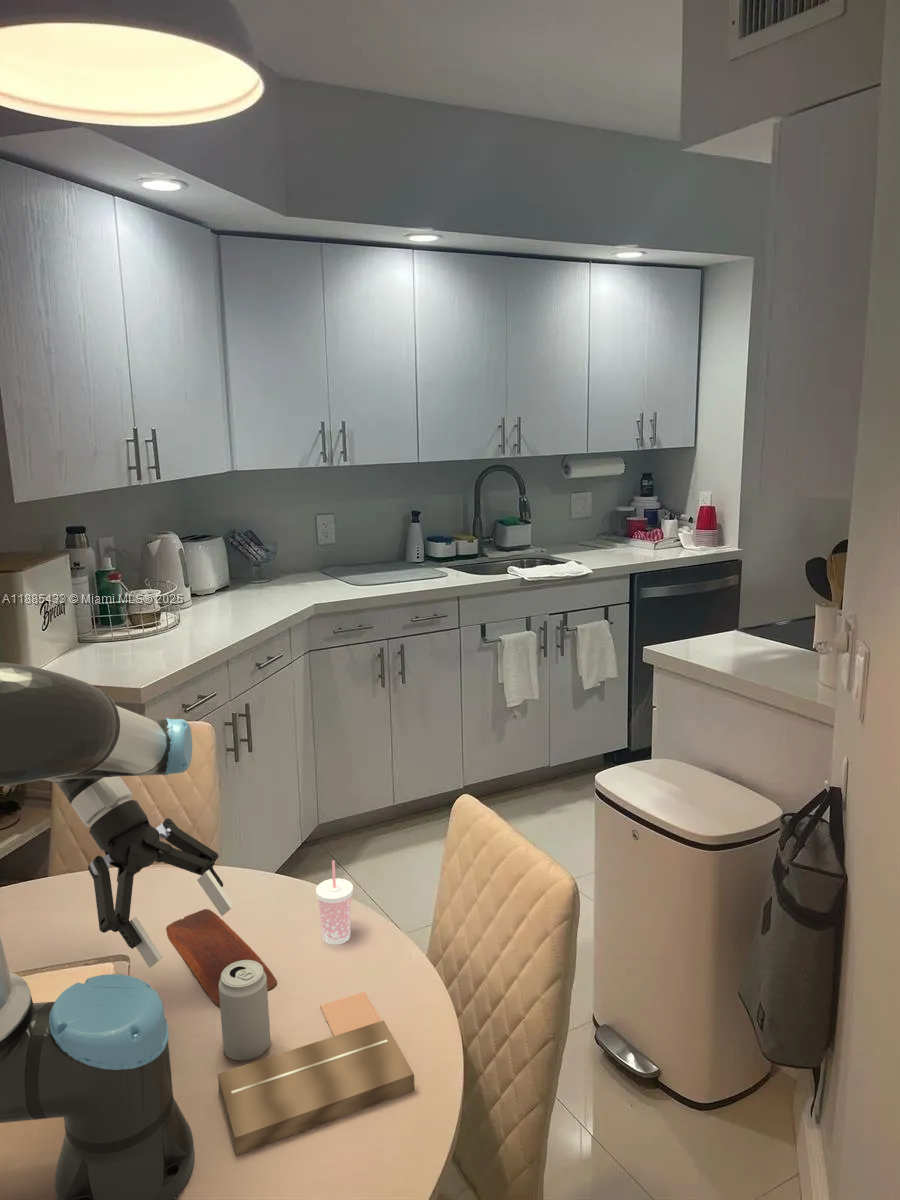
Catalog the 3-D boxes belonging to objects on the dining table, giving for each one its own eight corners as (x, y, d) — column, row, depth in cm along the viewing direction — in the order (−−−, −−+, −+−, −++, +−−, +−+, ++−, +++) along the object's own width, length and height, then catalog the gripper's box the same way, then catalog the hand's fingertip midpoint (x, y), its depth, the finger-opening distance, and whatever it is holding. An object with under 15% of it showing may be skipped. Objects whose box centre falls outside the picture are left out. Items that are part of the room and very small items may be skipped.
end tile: (334, 1038, 122) (334, 1036, 122) (320, 1007, 128) (320, 1005, 128) (381, 1023, 125) (381, 1021, 125) (364, 993, 131) (364, 991, 131)
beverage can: (246, 1025, 125) (241, 952, 122) (280, 1041, 122) (275, 966, 119) (213, 1053, 120) (207, 977, 117) (248, 1071, 116) (242, 994, 113)
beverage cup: (341, 951, 141) (338, 874, 138) (310, 941, 144) (306, 865, 141) (361, 931, 146) (359, 856, 143) (331, 921, 149) (328, 848, 146)
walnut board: (236, 1155, 104) (234, 1137, 103) (218, 1089, 113) (217, 1073, 113) (414, 1090, 113) (413, 1073, 112) (384, 1035, 123) (383, 1019, 122)
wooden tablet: (282, 988, 133) (281, 979, 133) (219, 1016, 128) (218, 1006, 127) (215, 908, 154) (214, 899, 154) (159, 928, 148) (158, 920, 148)
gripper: (165, 792, 138) (242, 902, 135) (23, 865, 117) (109, 998, 114) (187, 768, 135) (266, 881, 131) (44, 839, 114) (134, 975, 110)
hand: (193, 935), depth 122 cm, fingers open, 13 cm apart
